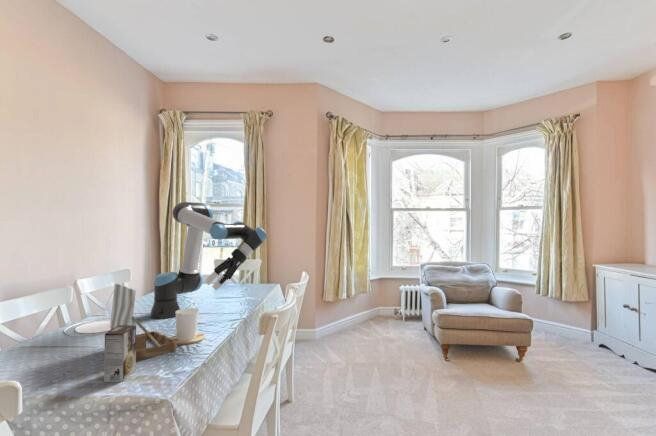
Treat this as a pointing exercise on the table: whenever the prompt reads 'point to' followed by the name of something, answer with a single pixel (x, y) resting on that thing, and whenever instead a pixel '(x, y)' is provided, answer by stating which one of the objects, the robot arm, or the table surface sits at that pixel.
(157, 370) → the table surface
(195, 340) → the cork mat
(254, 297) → the table surface
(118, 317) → the cold frame
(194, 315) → the candle holder
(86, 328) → the plate
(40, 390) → the table surface
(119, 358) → the coffee box
